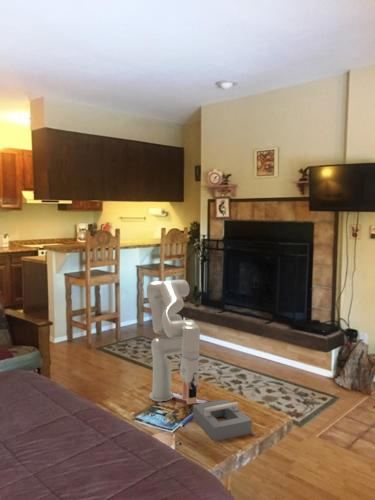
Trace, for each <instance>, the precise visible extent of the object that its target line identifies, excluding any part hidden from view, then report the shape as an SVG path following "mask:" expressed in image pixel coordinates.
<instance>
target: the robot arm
mask: <svg viewBox="0 0 375 500" xmlns="http://www.w3.org/2000/svg"><path fill="white" fill-rule="evenodd" d="M189 294H190V285H189V282H188V281H187V280H185V279H167V280H155V281H151V282H149V283H148V284H147V286H146V296H147V299H148V302H149V305H150V309H151V321H152V322H151V323H152V329H153V332H154V333H155V334H158V335H162V334H163V335H162V336H158V337H157V336H156V337H155V338H154V337H153V339H152V341H151V343H150V347H151V348H150V349H151V354H152V388H151V390H152V391H150V392H149V394H148V395H149V396H148V397H149V399H150V400H151V401H154V402H158V403H159V402H160V403H163V402H162V401H166V402H168V401H167V400H169V401H171V400H173V399H174V395H175V394H174V392H172V362H171V360H170V358H168V356H171V355H172V356H173V355H180V354H181V358H180V365H179V368H180V369H179V375H180V377H181V378H182V380H181V381H183V379H184V380H185V381H186V382H188V383H190V389H189V398H194V397H196V398H197V395H196V389H197V388H198V386H199V384H200V383H199V378H200V376H199V375H200V373H199V372H200V371H199V369H200V368H199V359H200V341H201V340H200V339H201V337H200V335H201V328H200V326H199V325H197V323H196V321H195V320H193V319H183V318H182V316H181V315H180V314H178V313H179V312H180V311H181V310H183V308H184V305H185V302H184V299H183V297H187V296H189ZM164 334H165V335H164ZM192 380H194V381H192ZM192 383H194V384H193V385H192ZM197 390H198V389H197ZM172 398H173V399H172ZM170 399H171V400H170Z"/></svg>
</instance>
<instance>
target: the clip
mask: <svg viewBox="0 0 375 500" xmlns="http://www.w3.org/2000/svg"><path fill="white" fill-rule="evenodd" d="M182 379H183V378H182ZM181 381H182V380H181ZM192 381H194V380H192ZM193 384H194V383H192V385H193ZM181 388H182V389H181V390H182V392H181V399H182V400H186V405H194V404H197V396H198V395H197V391H198V389H196V397H194V398H189V389H190V383H188V382H186V381H185V380H184V379H183V381H182V387H181Z"/></svg>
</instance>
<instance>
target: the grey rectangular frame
mask: <svg viewBox="0 0 375 500" xmlns="http://www.w3.org/2000/svg"><path fill="white" fill-rule="evenodd" d="M221 417H224V418H225V420H221V421H219V420H218V419H217V418H221ZM192 418H193V419H194V421H195V422H196V423H197V424H198V425H199V426H200V427H201V429H202V430H204V432H205V433H206V434H207V435H208V436H209V438H210V439H212V441H213V442H219V441H223V440H227V439H232V438H236V437H241V436H245V435H249V434H250V435H251V434H252V426H253V425H252V419H250V417H249V416H248V415H247V414H245V413H244V412H243V411H241V410H240V409H239V402H238V401H234V402H231V401H230V400H229V399H228V398H226V399H221V400H220V399H219V400H214V401H210V402H209V401H208V402H204V403H203V402H202V403H199V404H198V403H196V404H192Z"/></svg>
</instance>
